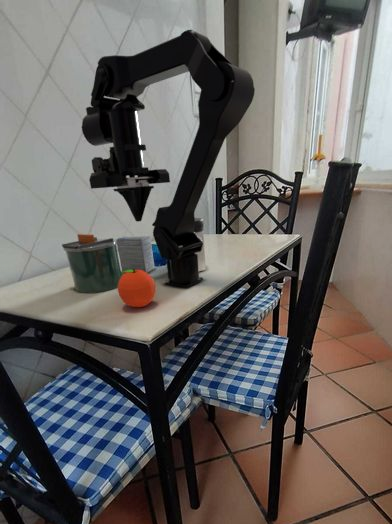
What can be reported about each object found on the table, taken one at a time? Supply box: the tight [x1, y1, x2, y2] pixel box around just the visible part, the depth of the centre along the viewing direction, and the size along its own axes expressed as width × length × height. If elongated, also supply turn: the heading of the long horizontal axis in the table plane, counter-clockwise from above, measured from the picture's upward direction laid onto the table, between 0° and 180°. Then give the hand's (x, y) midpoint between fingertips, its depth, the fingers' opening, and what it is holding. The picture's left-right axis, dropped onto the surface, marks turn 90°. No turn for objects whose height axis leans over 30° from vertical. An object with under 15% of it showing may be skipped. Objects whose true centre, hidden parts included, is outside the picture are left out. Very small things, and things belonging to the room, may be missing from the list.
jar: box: [179, 217, 207, 273], centre depth 79 cm, size 9×8×12 cm
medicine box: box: [115, 235, 156, 273], centre depth 82 cm, size 8×4×9 cm, turn 66°
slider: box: [62, 233, 95, 249], centre depth 67 cm, size 5×5×2 cm
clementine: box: [114, 269, 156, 308], centre depth 58 cm, size 8×7×7 cm
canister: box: [61, 236, 123, 294], centre depth 72 cm, size 12×12×10 cm
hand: (138, 221), depth 72 cm, fingers closed
